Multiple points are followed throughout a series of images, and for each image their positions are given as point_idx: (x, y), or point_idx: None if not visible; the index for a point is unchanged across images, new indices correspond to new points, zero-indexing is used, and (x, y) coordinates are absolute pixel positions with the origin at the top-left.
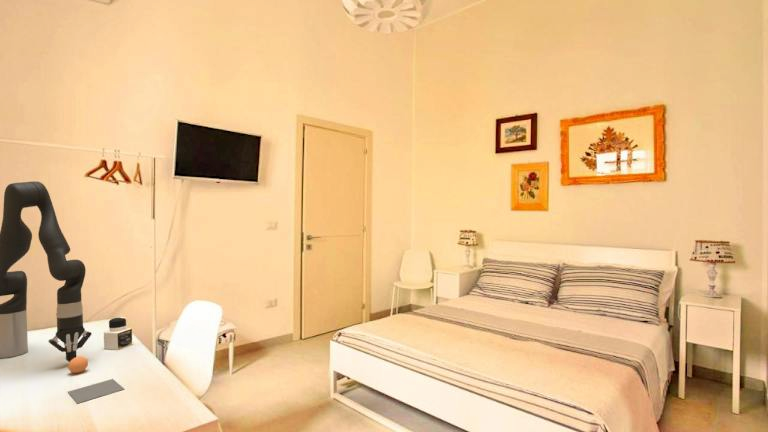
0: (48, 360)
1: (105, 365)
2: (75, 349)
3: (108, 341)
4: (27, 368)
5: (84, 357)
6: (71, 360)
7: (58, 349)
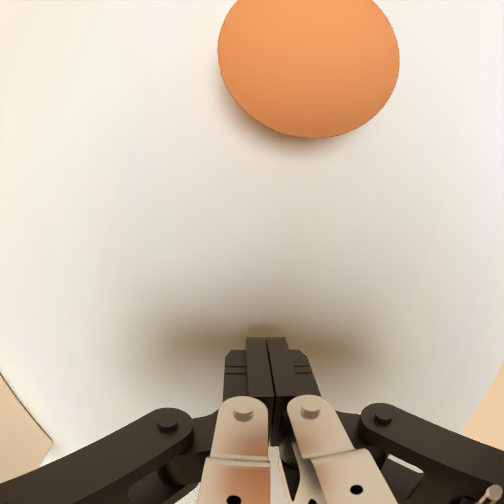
0: None
1: (97, 75)
2: (237, 404)
3: (11, 447)
4: None
5: (250, 14)
6: (392, 45)
7: (389, 461)
